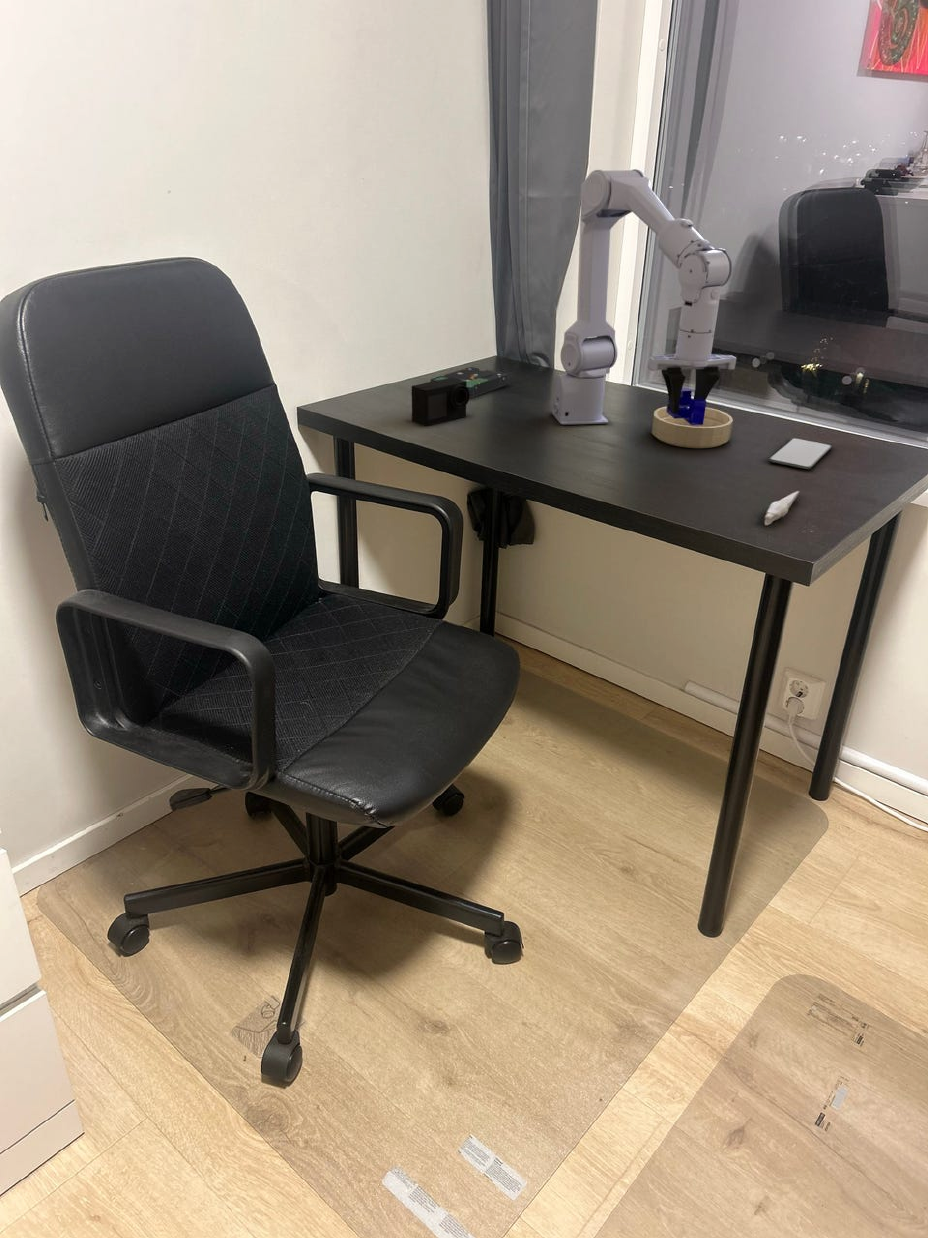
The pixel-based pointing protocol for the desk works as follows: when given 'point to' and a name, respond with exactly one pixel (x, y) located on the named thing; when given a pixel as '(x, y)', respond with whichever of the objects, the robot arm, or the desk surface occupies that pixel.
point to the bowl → (692, 429)
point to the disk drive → (477, 380)
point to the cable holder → (689, 408)
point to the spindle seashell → (779, 508)
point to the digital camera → (439, 401)
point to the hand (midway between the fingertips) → (684, 411)
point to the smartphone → (800, 453)
